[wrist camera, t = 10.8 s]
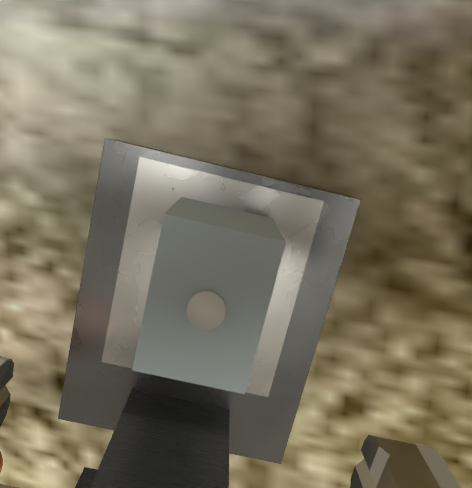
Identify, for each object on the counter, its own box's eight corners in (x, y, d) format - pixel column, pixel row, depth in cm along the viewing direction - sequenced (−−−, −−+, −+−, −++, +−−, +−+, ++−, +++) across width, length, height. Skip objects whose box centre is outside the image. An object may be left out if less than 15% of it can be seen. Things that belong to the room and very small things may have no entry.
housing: (181, 196, 23) (162, 215, 17) (272, 218, 23) (287, 244, 17) (156, 316, 24) (129, 375, 18) (242, 335, 25) (245, 399, 18)
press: (111, 138, 24) (-245, 112, 6) (354, 197, 24) (666, 326, 7) (52, 485, 28) (-240, 1030, 11) (256, 524, 29) (291, 1091, 12)
